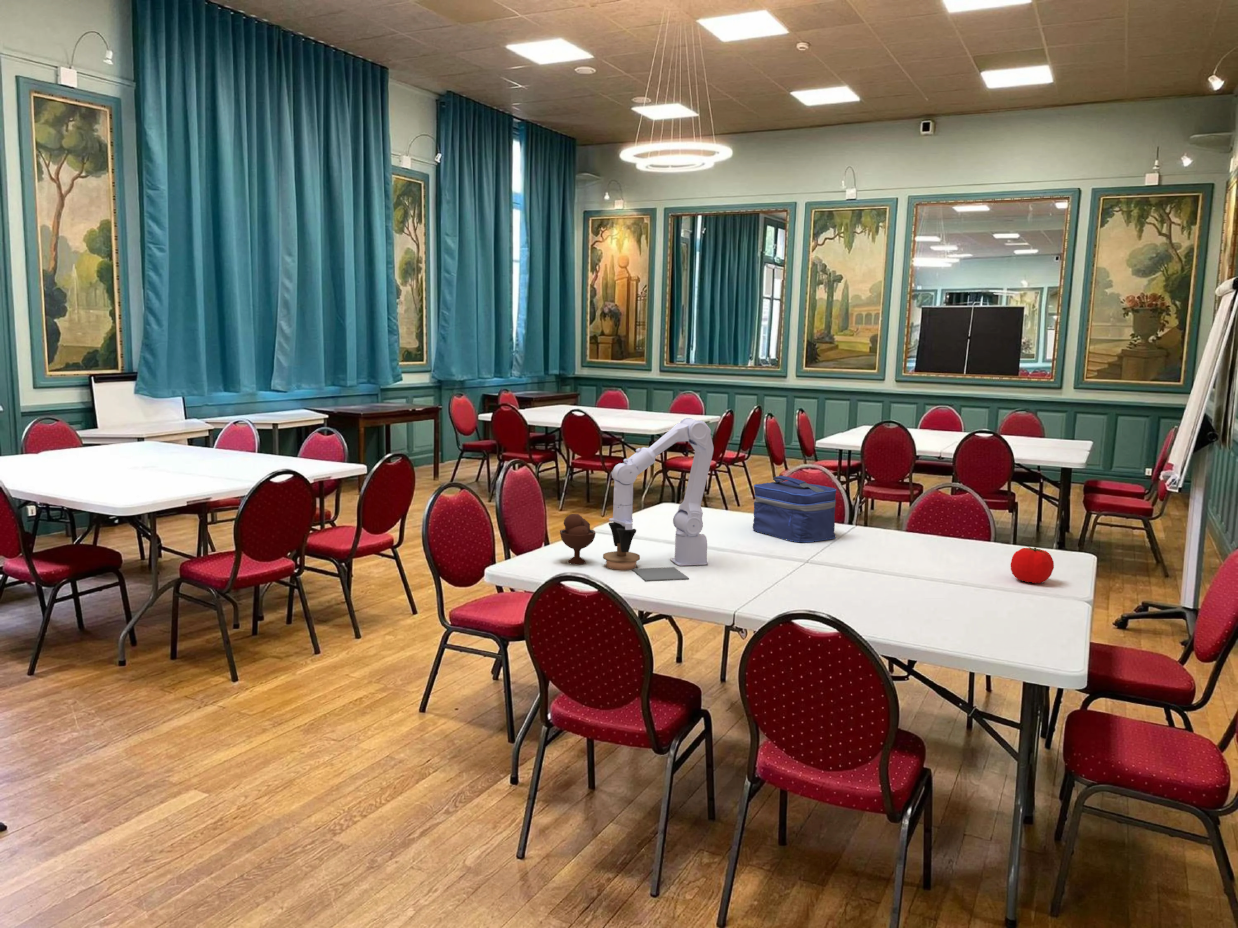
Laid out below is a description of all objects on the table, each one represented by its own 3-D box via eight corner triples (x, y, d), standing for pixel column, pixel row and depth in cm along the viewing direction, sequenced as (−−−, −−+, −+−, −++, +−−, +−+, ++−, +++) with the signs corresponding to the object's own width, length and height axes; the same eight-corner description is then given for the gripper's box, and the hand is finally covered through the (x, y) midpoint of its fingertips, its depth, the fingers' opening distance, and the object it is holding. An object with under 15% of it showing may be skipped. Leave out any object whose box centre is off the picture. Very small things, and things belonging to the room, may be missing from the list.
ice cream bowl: (590, 567, 270) (591, 517, 268) (554, 564, 272) (555, 515, 270) (598, 559, 280) (599, 511, 278) (563, 556, 282) (564, 509, 281)
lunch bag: (740, 528, 335) (742, 473, 332) (781, 523, 347) (783, 470, 344) (802, 545, 310) (805, 485, 307) (844, 539, 322) (847, 481, 319)
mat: (674, 568, 272) (674, 567, 272) (689, 579, 260) (689, 578, 260) (632, 570, 269) (632, 568, 269) (645, 581, 256) (645, 579, 256)
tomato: (1025, 587, 262) (1028, 552, 260) (1001, 577, 273) (1003, 543, 272) (1061, 586, 264) (1065, 551, 263) (1036, 576, 275) (1039, 542, 274)
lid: (633, 553, 279) (634, 539, 279) (644, 561, 269) (644, 547, 268) (599, 554, 276) (599, 540, 276) (608, 563, 266) (608, 548, 265)
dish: (631, 562, 278) (631, 554, 278) (639, 569, 270) (640, 561, 269) (602, 563, 276) (603, 555, 276) (610, 570, 267) (610, 562, 267)
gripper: (603, 500, 276) (602, 543, 278) (616, 508, 262) (614, 554, 264) (626, 499, 278) (624, 543, 280) (639, 508, 264) (638, 554, 266)
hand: (621, 548), depth 272 cm, fingers open, 7 cm apart
